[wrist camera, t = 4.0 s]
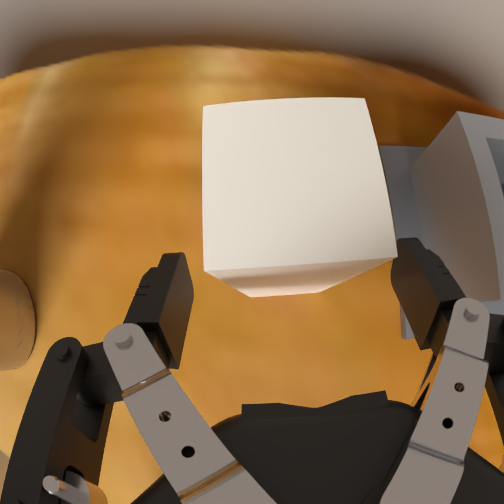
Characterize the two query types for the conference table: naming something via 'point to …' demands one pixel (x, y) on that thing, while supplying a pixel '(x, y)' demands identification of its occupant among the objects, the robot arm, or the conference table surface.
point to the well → (454, 203)
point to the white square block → (292, 195)
